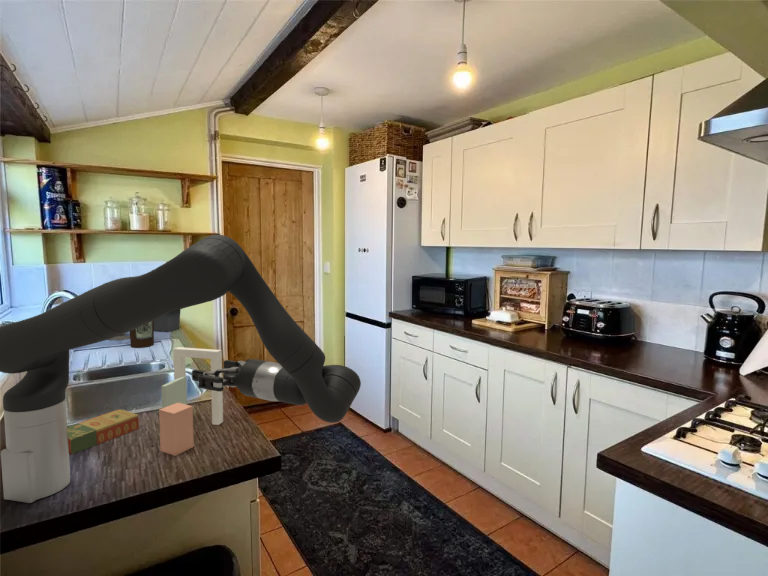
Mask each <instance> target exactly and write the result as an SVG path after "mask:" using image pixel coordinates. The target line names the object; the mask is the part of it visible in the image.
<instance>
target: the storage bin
mask: <svg viewBox="0 0 768 576" xmlns="http://www.w3.org/2000/svg"><path fill="white" fill-rule="evenodd" d="M181 310H182V309H179V310H175V311H172V312H169V313H167V314H164V315H162V316H161V317H159V318H157V319H155V320H154V332H162V331H167V332H166V333H171V332H174V331H173V330H175V331H178V330H179V329H180V324H181V323H180V321H181ZM177 329H178V330H177ZM170 331H171V332H170Z"/></svg>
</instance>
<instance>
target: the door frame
mask: <svg viewBox="0 0 768 576" xmlns="http://www.w3.org/2000/svg"><path fill="white" fill-rule="evenodd" d="M172 351H173V377H174V379H173V380H175V379H178V378H180V377H182V376H184V377H186V378H187V376H186V375H187V374H186V358H197V359H209V360H210V372H214V371H216V370H217V369H223V366H222V365H223V360H222V359H223V355H222V354H223V353H222V349H212V348H196V347H184V346H183V347H182V346H179V347H178V346H177V347H175V348H173V350H172ZM210 376H214V375H210ZM220 377H221V378H223V373H220ZM210 394H211V425H214V426H215V425H216V426H220V425H221V424H222V423H223V422H224V406H223V405H224V402H223V401H224V399H223V391H220V392H219V391H213V390H210Z"/></svg>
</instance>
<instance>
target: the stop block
mask: <svg viewBox="0 0 768 576" xmlns="http://www.w3.org/2000/svg"><path fill="white" fill-rule="evenodd" d="M193 407H194V405H193V406H192V405H189V404H187V405H186V404H182V403H175V404H173V405H170V406H167V407H165V408H162V407H161V408H160V409H158V411H159V412H158V413H159V415H158V416H159V439H160V440H159V441H160V445H159V446H160V447H159V448H160V452H162V453H165V454H168V455H171V456H175V457H176V456H179V455H180V454H182V453H184V452H186V451H188V450H190V449H192V448H194V446H195V445H194V444H195V443H194V440H195V437H194V412H193V411H194V408H193Z"/></svg>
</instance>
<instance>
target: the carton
mask: <svg viewBox="0 0 768 576" xmlns="http://www.w3.org/2000/svg"><path fill="white" fill-rule="evenodd" d="M139 429H140V419H139V415H138V414H137V413H133V412H131V411H128V410H126V409H125V410H124V409H120V408H119V409H115V410H112V411H110V412H107V413H103V414H101V415H98V416H95V417H92V418H89V419H87V420H84V421H83V420H82V421H81V422H77V423H74V424H72V425H69V426H68V425H67V431H68V448H69V455H74V454H77V453H80V452H82V451H84V450H87V449H89V448H92V447H95V446H98V445H100V444H103V443H106V442H108V441H110V440H113V439H115V438H119V437H121V436H123V435H126V434H128V433H131V432H133V431H136V430H139Z"/></svg>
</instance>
